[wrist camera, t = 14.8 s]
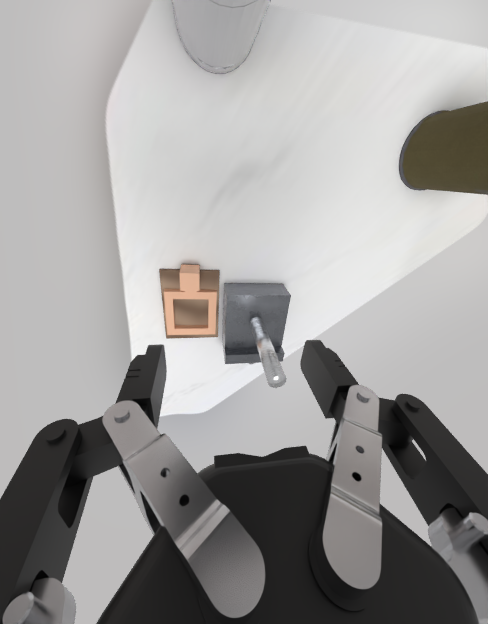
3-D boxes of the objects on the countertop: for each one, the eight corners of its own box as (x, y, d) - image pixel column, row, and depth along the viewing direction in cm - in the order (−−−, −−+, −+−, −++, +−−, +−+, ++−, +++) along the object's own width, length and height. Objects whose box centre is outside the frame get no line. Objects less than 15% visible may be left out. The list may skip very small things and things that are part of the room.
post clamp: (224, 283, 44) (237, 348, 28) (282, 283, 46) (326, 345, 30) (222, 348, 51) (231, 430, 35) (272, 346, 53) (303, 424, 37)
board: (159, 269, 41) (159, 270, 40) (219, 270, 43) (219, 271, 42) (166, 336, 48) (166, 338, 47) (217, 335, 49) (217, 337, 49)
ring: (162, 263, 40) (158, 272, 36) (217, 265, 41) (218, 274, 38) (168, 331, 47) (165, 344, 43) (215, 330, 48) (216, 343, 45)
